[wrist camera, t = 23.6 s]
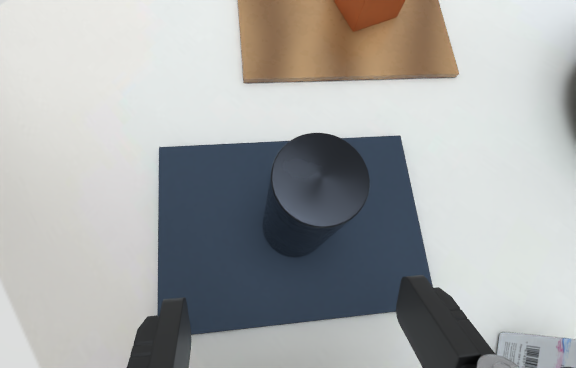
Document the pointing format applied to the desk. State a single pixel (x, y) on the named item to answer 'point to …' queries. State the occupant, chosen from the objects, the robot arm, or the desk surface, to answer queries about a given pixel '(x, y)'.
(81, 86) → the desk surface
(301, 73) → the cork mat
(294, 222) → the charcoal tin
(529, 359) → the ink box
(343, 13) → the orange block
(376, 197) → the slate mat
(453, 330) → the robot arm
